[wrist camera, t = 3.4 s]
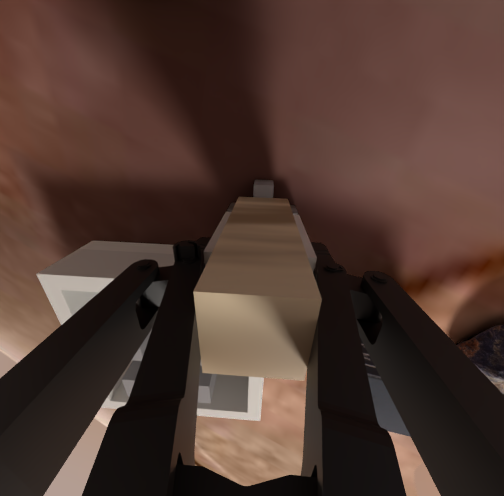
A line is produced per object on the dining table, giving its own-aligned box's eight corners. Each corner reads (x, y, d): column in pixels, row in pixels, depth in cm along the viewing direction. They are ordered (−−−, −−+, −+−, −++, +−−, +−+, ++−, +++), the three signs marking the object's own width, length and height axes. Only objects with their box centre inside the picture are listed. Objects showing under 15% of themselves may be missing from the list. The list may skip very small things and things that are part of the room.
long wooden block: (230, 178, 20) (157, 262, 7) (297, 181, 20) (363, 274, 6) (231, 239, 23) (180, 386, 9) (290, 242, 22) (325, 397, 9)
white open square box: (92, 240, 24) (31, 276, 18) (270, 249, 23) (271, 291, 17) (131, 358, 32) (99, 411, 26) (261, 368, 31) (260, 425, 25)
